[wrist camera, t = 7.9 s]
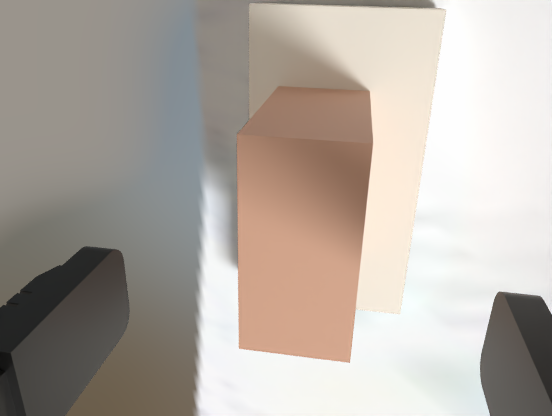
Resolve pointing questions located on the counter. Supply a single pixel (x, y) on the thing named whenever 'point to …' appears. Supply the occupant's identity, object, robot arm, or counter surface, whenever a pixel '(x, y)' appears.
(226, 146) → the counter surface
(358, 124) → the salmon block with base
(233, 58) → the counter surface
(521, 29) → the counter surface
